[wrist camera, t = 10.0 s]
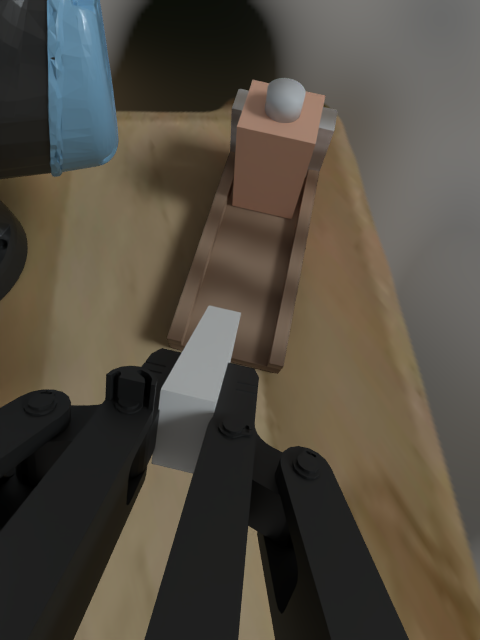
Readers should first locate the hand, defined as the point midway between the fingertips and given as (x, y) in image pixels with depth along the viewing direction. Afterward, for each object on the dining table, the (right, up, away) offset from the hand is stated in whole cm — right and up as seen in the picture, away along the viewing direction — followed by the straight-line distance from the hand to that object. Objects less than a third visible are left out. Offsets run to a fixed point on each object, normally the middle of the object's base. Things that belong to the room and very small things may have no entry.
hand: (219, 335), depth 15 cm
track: (+2, +8, +19) cm, 21 cm away
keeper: (+4, +15, +20) cm, 25 cm away
